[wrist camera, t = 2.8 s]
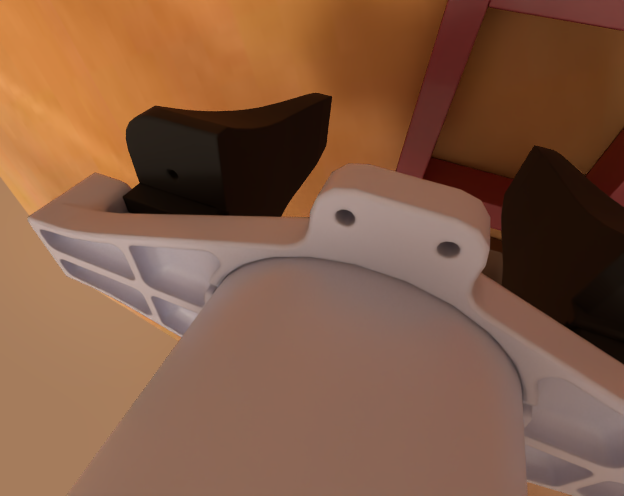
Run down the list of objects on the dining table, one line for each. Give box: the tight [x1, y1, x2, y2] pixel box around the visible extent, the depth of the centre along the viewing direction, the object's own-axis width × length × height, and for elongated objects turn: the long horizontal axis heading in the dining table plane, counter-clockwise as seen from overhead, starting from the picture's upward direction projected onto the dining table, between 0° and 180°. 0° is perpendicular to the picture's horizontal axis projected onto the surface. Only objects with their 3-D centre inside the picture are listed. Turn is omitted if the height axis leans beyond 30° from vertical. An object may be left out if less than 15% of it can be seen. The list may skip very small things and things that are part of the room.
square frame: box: [396, 0, 624, 231], centre depth 15 cm, size 10×10×3 cm
